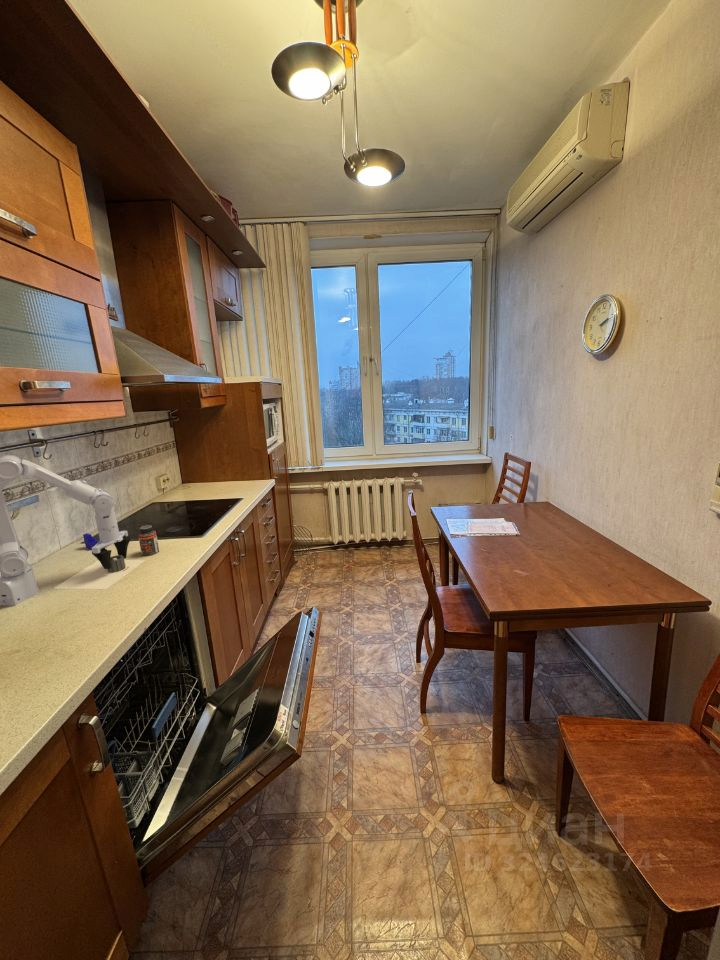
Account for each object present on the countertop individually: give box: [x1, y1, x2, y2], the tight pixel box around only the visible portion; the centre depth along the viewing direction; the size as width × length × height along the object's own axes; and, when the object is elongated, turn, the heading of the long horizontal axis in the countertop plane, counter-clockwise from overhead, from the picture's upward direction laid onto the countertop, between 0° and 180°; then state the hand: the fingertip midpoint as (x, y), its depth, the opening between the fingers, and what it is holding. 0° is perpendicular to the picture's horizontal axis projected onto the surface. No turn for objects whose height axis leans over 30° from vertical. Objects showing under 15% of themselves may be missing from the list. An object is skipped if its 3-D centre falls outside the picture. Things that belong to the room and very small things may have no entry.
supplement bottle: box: [138, 525, 160, 557], centre depth 143 cm, size 6×6×11 cm
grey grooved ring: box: [107, 554, 126, 573], centre depth 131 cm, size 5×5×4 cm
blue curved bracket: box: [82, 532, 100, 551], centre depth 156 cm, size 12×4×6 cm, turn 152°
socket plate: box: [53, 558, 146, 590], centre depth 129 cm, size 20×18×5 cm
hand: (115, 563), depth 131 cm, fingers open, 7 cm apart
